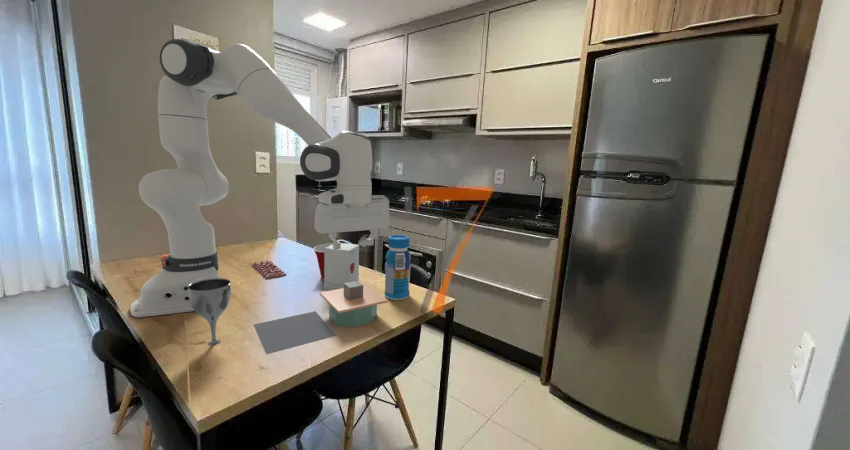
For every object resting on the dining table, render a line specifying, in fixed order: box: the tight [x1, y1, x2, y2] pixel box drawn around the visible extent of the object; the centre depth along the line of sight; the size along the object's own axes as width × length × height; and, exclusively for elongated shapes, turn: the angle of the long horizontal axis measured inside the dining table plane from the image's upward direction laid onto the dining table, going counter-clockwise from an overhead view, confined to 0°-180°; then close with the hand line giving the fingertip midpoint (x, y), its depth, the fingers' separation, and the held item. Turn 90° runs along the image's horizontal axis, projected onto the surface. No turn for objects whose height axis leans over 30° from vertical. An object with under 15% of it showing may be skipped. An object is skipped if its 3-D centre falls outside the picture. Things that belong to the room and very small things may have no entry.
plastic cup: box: [312, 242, 333, 280], centre depth 126 cm, size 11×11×12 cm
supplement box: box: [323, 242, 360, 292], centre depth 116 cm, size 9×9×15 cm
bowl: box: [328, 303, 378, 328], centre depth 95 cm, size 12×12×6 cm
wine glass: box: [188, 277, 232, 347], centre depth 77 cm, size 8×8×15 cm
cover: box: [319, 281, 389, 313], centre depth 94 cm, size 14×14×4 cm
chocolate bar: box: [251, 259, 287, 280], centre depth 131 cm, size 7×19×2 cm, turn 40°
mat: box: [253, 310, 337, 355], centre depth 86 cm, size 16×16×1 cm
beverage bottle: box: [384, 234, 412, 301], centre depth 111 cm, size 8×8×20 cm
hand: (353, 246), depth 91 cm, fingers open, 8 cm apart
